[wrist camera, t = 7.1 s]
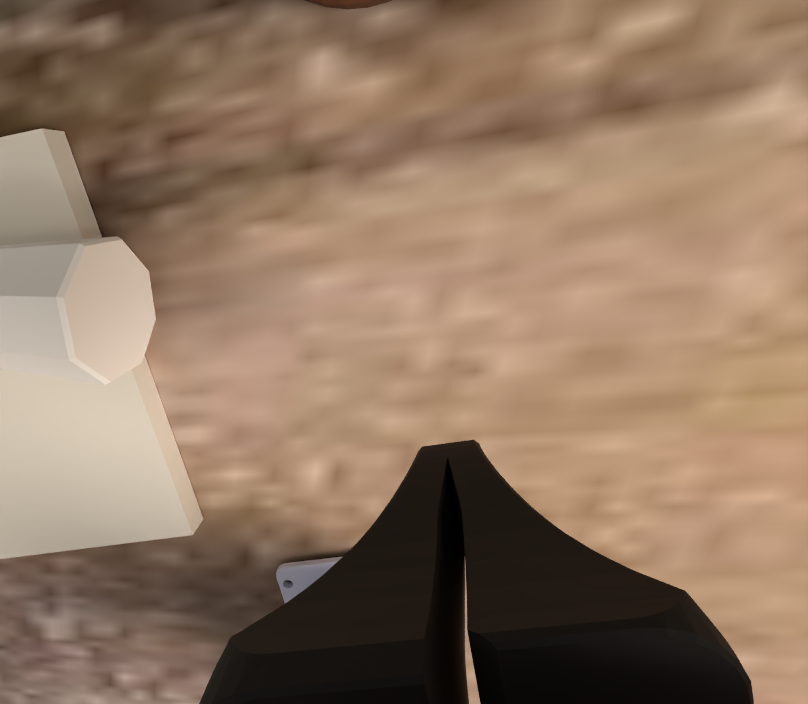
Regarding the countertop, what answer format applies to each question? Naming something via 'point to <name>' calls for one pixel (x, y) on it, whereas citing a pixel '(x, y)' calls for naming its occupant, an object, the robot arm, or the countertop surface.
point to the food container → (348, 3)
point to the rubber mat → (77, 402)
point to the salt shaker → (74, 309)
